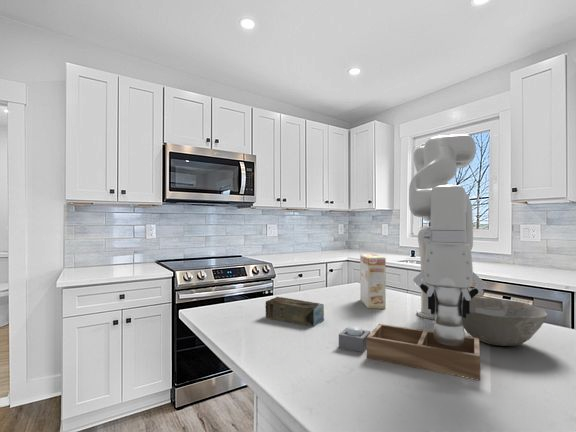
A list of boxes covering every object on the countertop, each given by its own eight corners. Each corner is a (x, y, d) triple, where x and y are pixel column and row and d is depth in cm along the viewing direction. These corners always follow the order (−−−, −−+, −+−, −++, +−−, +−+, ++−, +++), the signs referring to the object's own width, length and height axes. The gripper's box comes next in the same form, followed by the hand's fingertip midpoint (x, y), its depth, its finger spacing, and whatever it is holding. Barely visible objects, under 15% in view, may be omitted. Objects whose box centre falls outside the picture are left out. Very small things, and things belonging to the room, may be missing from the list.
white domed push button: (349, 334, 92) (349, 325, 93) (364, 336, 91) (364, 327, 91) (345, 339, 89) (345, 329, 89) (359, 341, 87) (359, 331, 87)
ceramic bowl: (553, 365, 78) (552, 322, 78) (444, 346, 90) (443, 308, 90) (542, 337, 96) (541, 302, 96) (453, 324, 109) (453, 293, 109)
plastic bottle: (469, 350, 75) (468, 260, 75) (436, 348, 76) (436, 259, 77) (460, 340, 81) (460, 257, 82) (430, 338, 83) (430, 257, 83)
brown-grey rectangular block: (313, 327, 106) (313, 306, 106) (264, 318, 116) (264, 299, 116) (324, 321, 113) (324, 301, 113) (276, 313, 123) (276, 295, 123)
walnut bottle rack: (379, 341, 93) (379, 323, 93) (479, 359, 81) (478, 338, 81) (366, 357, 82) (366, 337, 82) (480, 380, 70) (479, 356, 70)
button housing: (346, 340, 94) (346, 327, 94) (370, 344, 91) (370, 331, 91) (338, 347, 88) (338, 334, 89) (363, 352, 85) (363, 338, 85)
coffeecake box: (386, 308, 128) (386, 257, 128) (367, 308, 128) (367, 257, 129) (376, 299, 143) (376, 253, 143) (359, 299, 143) (359, 253, 143)
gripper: (406, 237, 80) (407, 313, 80) (491, 239, 72) (492, 324, 71) (411, 236, 87) (412, 306, 86) (489, 238, 78) (490, 315, 78)
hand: (448, 313), depth 79 cm, fingers closed on plastic bottle, 6 cm apart
